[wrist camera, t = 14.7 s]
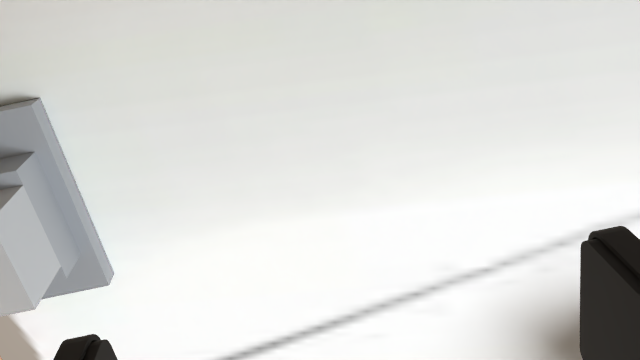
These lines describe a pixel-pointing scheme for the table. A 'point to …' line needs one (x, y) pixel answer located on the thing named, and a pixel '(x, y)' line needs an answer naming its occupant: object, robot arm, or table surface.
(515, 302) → the table surface
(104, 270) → the fulcrum stand
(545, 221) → the table surface
